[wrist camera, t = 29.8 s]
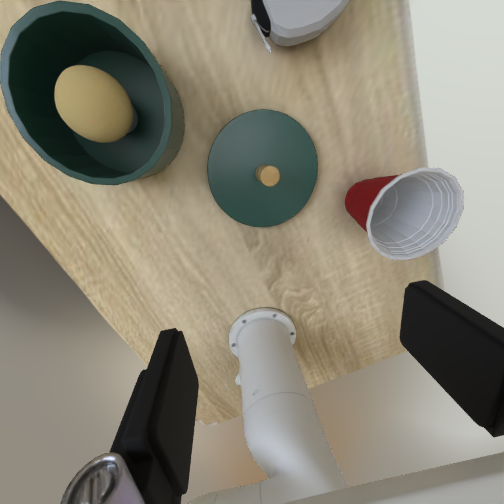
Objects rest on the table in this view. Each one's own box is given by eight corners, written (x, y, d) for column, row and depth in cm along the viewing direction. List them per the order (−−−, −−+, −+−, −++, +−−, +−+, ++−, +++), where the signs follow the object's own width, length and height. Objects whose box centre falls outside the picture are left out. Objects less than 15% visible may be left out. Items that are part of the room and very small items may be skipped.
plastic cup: (315, 189, 36) (355, 204, 25) (380, 148, 35) (452, 144, 24) (343, 244, 40) (389, 278, 29) (402, 209, 39) (473, 230, 28)
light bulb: (142, 153, 32) (109, 153, 22) (90, 131, 30) (31, 120, 21) (157, 102, 30) (127, 79, 20) (102, 75, 28) (42, 37, 19)
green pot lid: (288, 238, 39) (299, 252, 33) (194, 205, 35) (188, 214, 30) (333, 139, 34) (355, 136, 28) (229, 89, 30) (230, 74, 25)
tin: (168, 193, 34) (152, 204, 26) (54, 152, 31) (-4, 151, 23) (198, 80, 30) (189, 54, 22) (68, 18, 26) (3, -40, 18)
